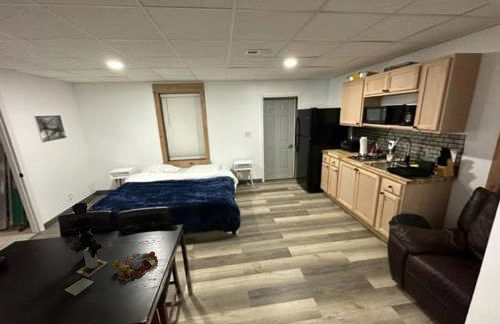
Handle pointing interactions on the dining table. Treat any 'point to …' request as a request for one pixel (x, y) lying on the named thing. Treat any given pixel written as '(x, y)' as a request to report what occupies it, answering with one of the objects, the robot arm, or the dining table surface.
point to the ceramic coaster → (79, 286)
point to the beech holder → (92, 271)
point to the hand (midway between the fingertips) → (90, 256)
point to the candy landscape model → (135, 265)
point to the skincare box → (90, 259)
